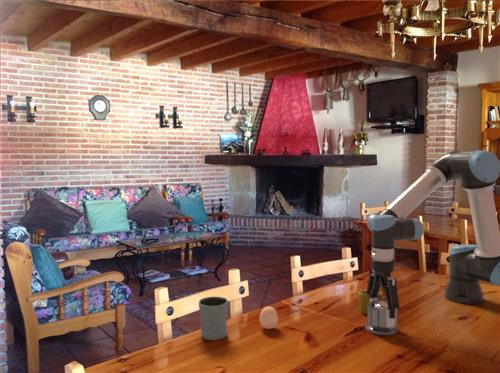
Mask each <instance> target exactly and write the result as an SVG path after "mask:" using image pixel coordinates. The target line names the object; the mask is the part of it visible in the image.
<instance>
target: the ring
mask: <svg viewBox="0 0 500 373" xmlns="http://www.w3.org/2000/svg"><path fill="white" fill-rule="evenodd" d="M377 302H383V303H387V301H386V300H383V301H371V302H369V303H367V314H366V315H367V316H366V319H367V320H366V322H367V323H369V324H371V325H374V326H377V327H378V326H379V327H385V328H386V309H380V308H376V307H374V305H375V303H377ZM397 324H398V309H395V320H394V326H397Z"/></svg>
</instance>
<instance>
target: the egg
mask: <svg viewBox="0 0 500 373" xmlns="http://www.w3.org/2000/svg"><path fill="white" fill-rule="evenodd" d="M278 321H279V315H278V312H277V310H276V309H275V308H274V307H272V306H265V307H264V308H263V309H262V310H261V311H260V314H259V323H260V324H261V326H262V327H263V328H264V329H266V330H272V329H273V328H275V327H277V325H278Z"/></svg>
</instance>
